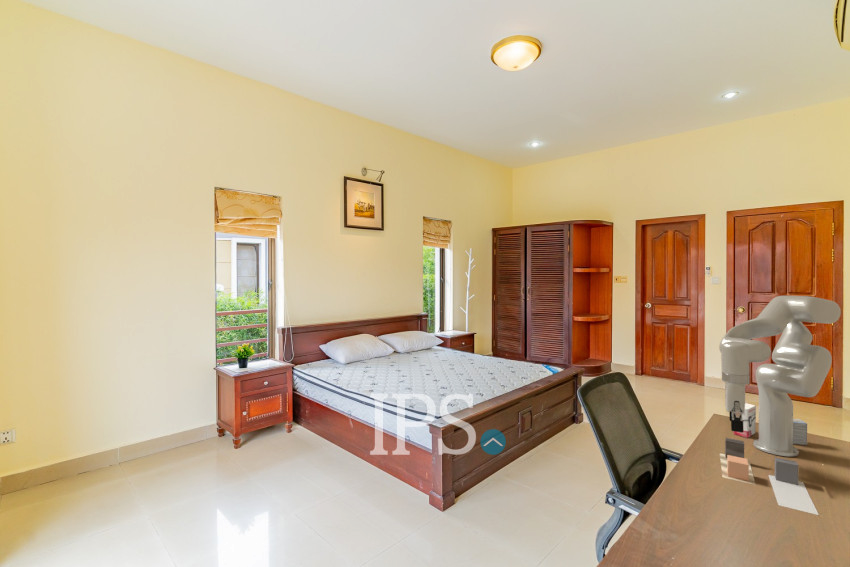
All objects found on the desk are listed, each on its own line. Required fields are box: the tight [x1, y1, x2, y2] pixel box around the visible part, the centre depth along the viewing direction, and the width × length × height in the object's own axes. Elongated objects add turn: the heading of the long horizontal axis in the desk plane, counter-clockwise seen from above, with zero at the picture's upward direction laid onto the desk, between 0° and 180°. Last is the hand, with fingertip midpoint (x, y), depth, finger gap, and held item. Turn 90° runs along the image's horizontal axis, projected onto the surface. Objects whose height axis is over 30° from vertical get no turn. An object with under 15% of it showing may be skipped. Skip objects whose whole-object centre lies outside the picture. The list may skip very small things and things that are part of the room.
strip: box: [768, 457, 819, 516], centre depth 114 cm, size 20×8×7 cm, turn 145°
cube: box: [727, 455, 749, 481], centre depth 124 cm, size 5×5×5 cm
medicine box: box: [793, 418, 808, 446], centre depth 151 cm, size 8×4×9 cm, turn 71°
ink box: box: [733, 402, 757, 439], centre depth 159 cm, size 8×5×12 cm, turn 123°
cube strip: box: [719, 437, 756, 486], centre depth 129 cm, size 20×8×7 cm, turn 145°
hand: (736, 426), depth 136 cm, fingers open, 9 cm apart
